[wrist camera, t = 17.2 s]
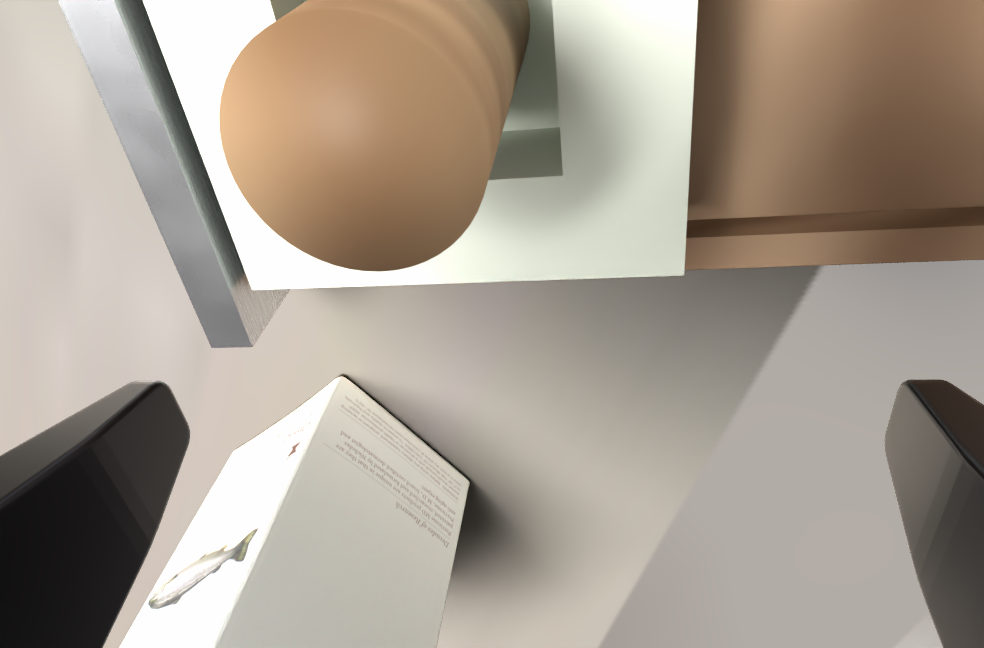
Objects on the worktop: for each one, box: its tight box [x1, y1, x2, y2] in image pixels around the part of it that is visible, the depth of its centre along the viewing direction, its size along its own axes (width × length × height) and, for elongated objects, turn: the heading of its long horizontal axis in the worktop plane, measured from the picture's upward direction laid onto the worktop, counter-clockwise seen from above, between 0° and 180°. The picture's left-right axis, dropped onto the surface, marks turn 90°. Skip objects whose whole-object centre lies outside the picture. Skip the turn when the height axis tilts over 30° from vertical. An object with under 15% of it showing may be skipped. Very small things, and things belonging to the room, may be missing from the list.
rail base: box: [58, 0, 984, 348], centre depth 15 cm, size 24×14×5 cm, turn 97°
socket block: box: [143, 0, 698, 290], centre depth 16 cm, size 11×11×3 cm
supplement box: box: [119, 376, 470, 648], centre depth 24 cm, size 7×7×13 cm
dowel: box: [219, 0, 530, 272], centre depth 13 cm, size 4×4×8 cm
